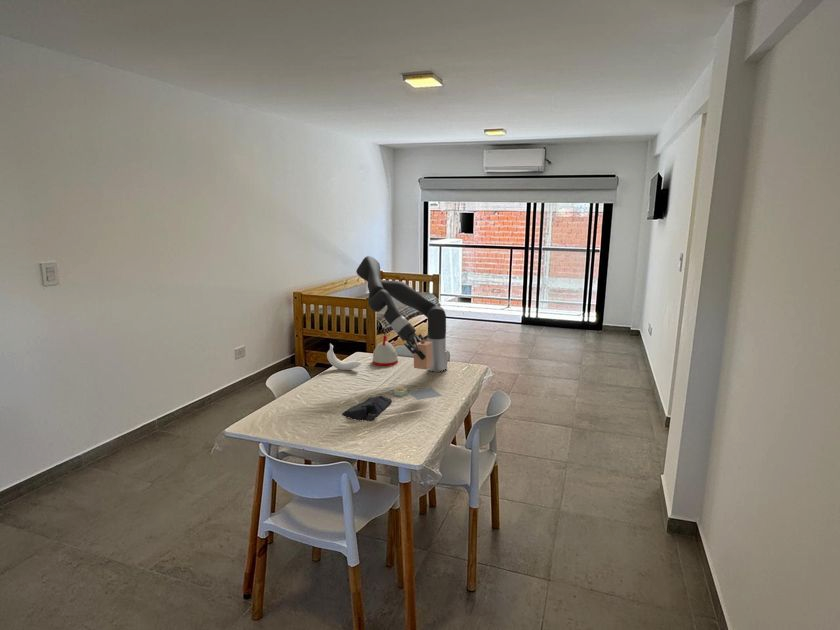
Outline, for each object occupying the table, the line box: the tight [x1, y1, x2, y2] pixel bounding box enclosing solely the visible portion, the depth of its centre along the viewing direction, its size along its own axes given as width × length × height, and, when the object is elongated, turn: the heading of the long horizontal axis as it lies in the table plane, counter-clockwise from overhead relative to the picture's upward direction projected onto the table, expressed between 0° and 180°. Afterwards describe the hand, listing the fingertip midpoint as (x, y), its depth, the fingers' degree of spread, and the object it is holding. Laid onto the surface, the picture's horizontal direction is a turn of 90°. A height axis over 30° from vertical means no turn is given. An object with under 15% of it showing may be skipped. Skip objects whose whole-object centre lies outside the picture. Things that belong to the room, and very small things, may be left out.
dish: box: [393, 387, 408, 397], centre depth 223 cm, size 4×4×3 cm
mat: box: [407, 386, 443, 401], centre depth 224 cm, size 12×12×1 cm
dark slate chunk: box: [341, 395, 393, 422], centre depth 206 cm, size 15×22×5 cm
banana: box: [326, 343, 362, 371], centre depth 259 cm, size 5×19×15 cm, turn 79°
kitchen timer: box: [372, 334, 399, 367], centre depth 272 cm, size 14×14×15 cm
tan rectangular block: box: [413, 339, 432, 370], centre depth 220 cm, size 6×6×12 cm
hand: (427, 356), depth 219 cm, fingers closed on tan rectangular block, 6 cm apart
